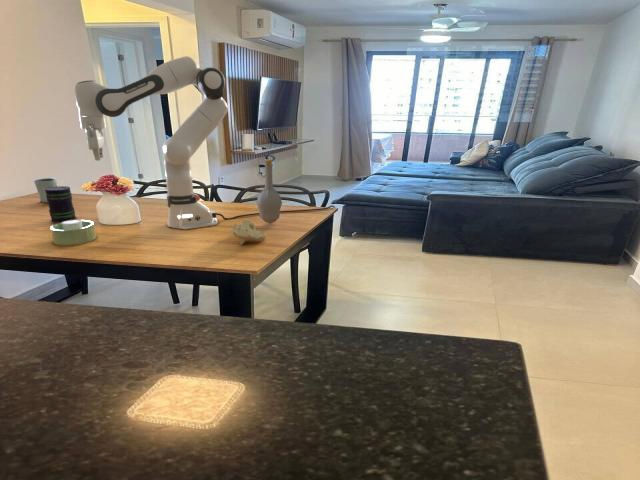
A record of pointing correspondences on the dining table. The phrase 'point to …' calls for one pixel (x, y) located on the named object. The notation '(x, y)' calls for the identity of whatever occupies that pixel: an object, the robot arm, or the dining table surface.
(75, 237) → the green round shallow bowl
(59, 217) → the storage jar
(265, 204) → the bottle
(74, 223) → the shot glass
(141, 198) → the dining table surface
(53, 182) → the grey cup
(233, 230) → the grey beige rock
